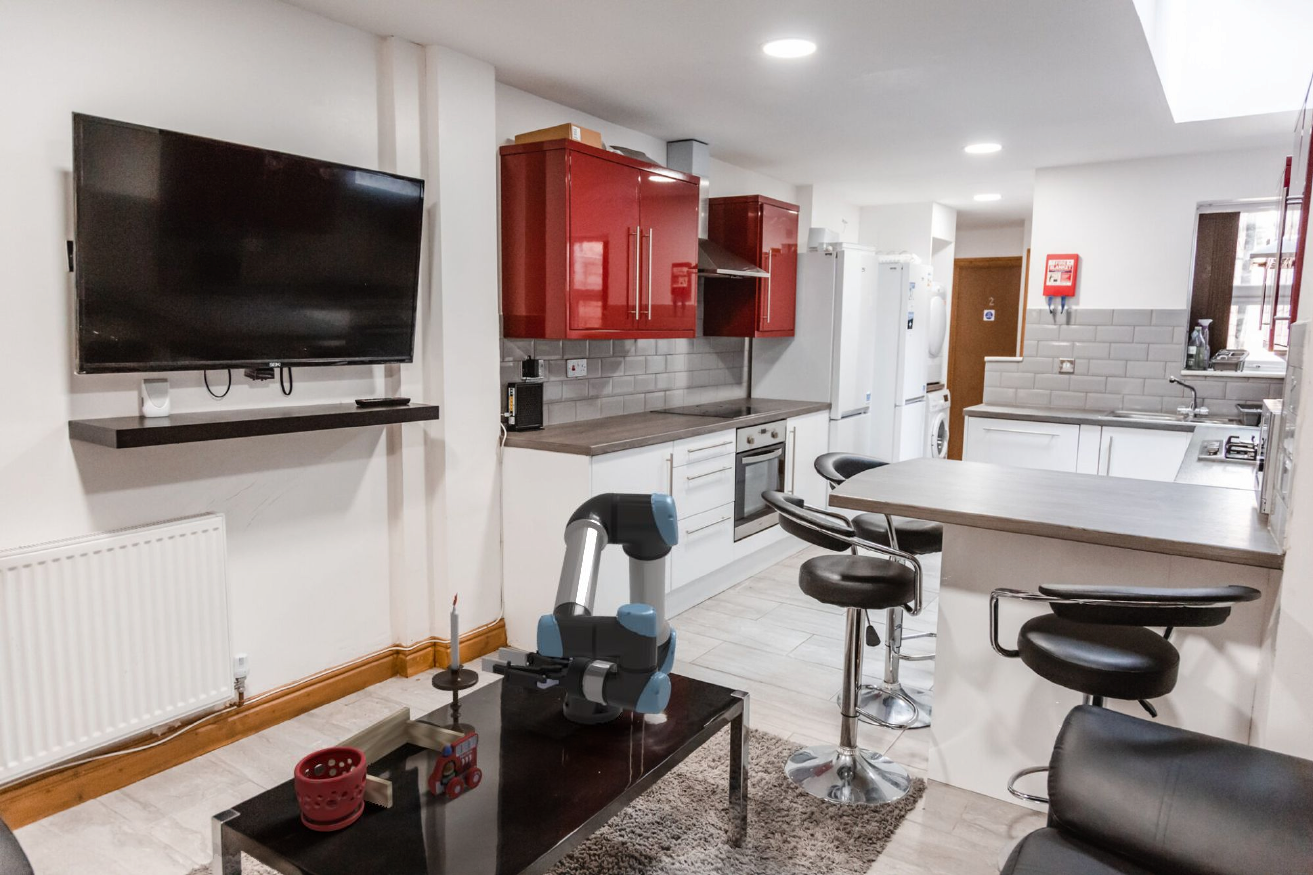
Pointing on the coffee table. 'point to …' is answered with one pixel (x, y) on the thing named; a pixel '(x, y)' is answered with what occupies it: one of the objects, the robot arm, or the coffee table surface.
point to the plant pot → (331, 788)
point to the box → (393, 747)
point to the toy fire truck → (456, 767)
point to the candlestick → (455, 677)
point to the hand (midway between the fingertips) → (491, 658)
